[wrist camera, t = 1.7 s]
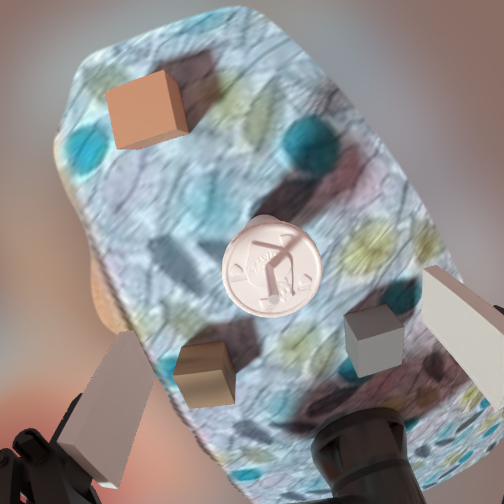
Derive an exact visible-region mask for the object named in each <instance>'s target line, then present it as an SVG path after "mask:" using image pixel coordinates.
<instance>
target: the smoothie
mask: <svg viewBox="0 0 504 504" xmlns="http://www.w3.org/2000/svg"><path fill="white" fill-rule="evenodd" d="M222 278H223V283H224V287H225V289H226V291H227V293H228V295H229V297H230V298H231V299H232V301H233V302H234V303H235V304H236V305H237V306H239V307H240V308H241V309H243V310H244V311H246V312H248V313H250V314H253V315H256V316H260V317H268V318H274V317H281V316H286V315H289V314H291V313H294V312H296V311H297V310H299V309H301V308H302V307H303V306H305V305H306V304H307V303H308V302H309V301H310V300H311V299H312V297H313V296H314V295H315V293H316V292H317V290H318V288H319V285H320V282H321V278H322V260H321V256H320V254H319V251H318V249H317V247H316V245H315V243H314V241H313V240H312V239H311V238H310V236H309V235H308V234H307V233H306V232H305V231H303V230H302V229H300V228H299V227H298V226H296V225H293V224H290V223H288V222H285V221H280V220H278V219H277V218H275V217H273V216H271V215H265V214H264V215H258V216H256V217H254V218H252V219H251V220H250V221H249V222H248V224H247V225H246V227H245V228H244V229H243V230H242V231H241V232H239V233H238V234H237V235H236V236H235V237H234V238H233V239H232V241H231V242H230V244H229V245H228V247H227V249H226V252H225V254H224V257H223V265H222Z"/></svg>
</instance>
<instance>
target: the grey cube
mask: <svg viewBox="0 0 504 504" xmlns="http://www.w3.org/2000/svg"><path fill="white" fill-rule="evenodd" d="M344 326H345V340H346V351H347V354H348V356H349V358H350V360H351V362H352V364H353V367H354V369H355V371H356V373H357V375H358V378H360V377H364V376H367V375H370V374H374V373H377V372H380V371H383V370H386V369H389V368H392V367H395V366H398V365H401V364H402V356H403V344H404V328H405V327H404V325H403V324H402V323H401V322H400V321H399V319H398V318H397V317H396V316H395V315H394V313H393V312H392V311H391V310H390V309H389V307H388V306H387V305H386V304H383V305H380V306H376V307H373V308H369V309H366V310H362V311H358V312H354V313H350V314H347V315H344Z"/></svg>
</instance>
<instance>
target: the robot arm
mask: <svg viewBox="0 0 504 504" xmlns="http://www.w3.org/2000/svg"><path fill="white" fill-rule="evenodd" d="M421 321H422V322H423V323H424V324H425V326H426V327H427V328H428V329H429V330H430V331H431V332H432V333H433V335H434V336H435V337H436V338H437V339H438V340H439V341H440V343H441V344H442V345H443V346H444V347H445V348H446V349H447V351H448V352H449V353H450V354H451V355H452V356H453V358H454V359H455V360H456V361H457V362H458V364H459V365H460V366H461V367H462V368H463V370H464V371H465V372H466V373H467V375H468V376H469V377H470V378H471V379H472V381H473V382H474V383H475V384H476V386H477V387H478V388H479V390H480V391H481V392H482V393H483V395H484V396H485V397H486V399H487V400H488V401H489V402H490V404H491V405H492V406H493V408H494V409H495V410H496V412H497V411H498V410H500V409H501V408H503V407H504V308H501V307H499V306H497V305H494V306H491V305H490V304H489V303H488V302H486V301H485V300H483V299H482V298H481V297H480V296H478V295H477V294H476V293H475V292H473V291H472V290H471V289H469V288H468V287H466V286H465V285H464V284H462V283H461V282H460V281H458V280H457V279H456V278H454V277H453V276H451V275H450V274H449V273H447V272H446V271H444V270H443V269H441V268H440V267H439V266H437V265H434V266H431V267H427V268H424V269H423V290H422V310H421ZM155 377H156V375H155V373H154V372H153V370H152V368H151V366H150V364H149V362H148V360H147V358H146V356H145V354H144V351H143V349H142V347H141V345H140V343H139V341H138V339H137V337H136V334H135V332H134V330H133V331H125V332H120V333H119V334H118V336H117V338H116V339H115V341H114V342H113V344H112V345H111V347H110V349H109V351H108V352H107V354H106V355H105V357H104V359H103V360H102V362H101V363H100V365H99V367H98V368H97V370H96V372H95V374H94V375H93V377H92V379H91V380H90V382H89V384H88V385H87V387H86V389H85V391H84V392H83V393H80V394H79V395H78V396H77V397H76V398H75V399H74V400H73V401H72V402H71V404H70V406H69V408H68V410H67V412H66V413H65V415H64V416H63V419H62V420H61V422H60V424H59V426H58V427H57V429H56V431H55V433H54V435H53V436H52V438H51V440H50V442H49V443H48V442H47V441H46V440H45V439H44V437H43V436H42V435H41V434H40V433H39V432H38V431H37V430H36V429H33V428H29V429H25V430H23V431H22V432H20V433H19V434H18V435H17V436H16V437H15V439H14V441H13V446H12V447H13V449H14V450H15V451H16V452H17V453H18V454H19V455H20V456H21V457H18V456H17V455H16V454H15V453H14V452H13V451H12V450H10V449H8V448H4V449H1V450H0V504H25V503H23V502H22V501H21V500H20V494H21V495H22V496H24V497H25V498H26V504H102V503H101V501H100V499H99V497H98V495H97V493H96V490H95V489H94V488H93V486H92V485H91V482H92V479H94V480H95V481H96V482H97V483H98V484H99V485H101V486H102V487H108V488H114V489H119V486H120V483H121V480H122V476H123V473H124V470H125V466H126V463H127V460H128V457H129V454H130V451H131V447H132V444H133V441H134V438H135V435H136V432H137V429H138V426H139V423H140V420H141V417H142V414H143V411H144V408H145V406H146V403H147V399H148V397H149V394H150V391H151V388H152V386H153V383H154V380H155ZM311 453H312V458H313V462H314V464H315V466H316V467H317V469H318V470H319V472H320V473H321V475H322V476H323V478H324V479H325V480H326V482H327V483H328V485H329V486H330V488H331V491H332V495H333V498H327V499H321V500H314V501H307V502H299V503H289V504H426V501H425V498H424V496H423V494H422V491H421V489H420V487H419V484H418V482H417V480H416V477H415V475H414V473H413V470H412V468H411V466H410V464H409V461H408V458H407V437H406V427H405V424H404V422H403V420H402V418H401V416H400V415H399V413H397V412H396V411H394V410H391V409H386V408H376V409H369V410H364V411H360V412H357V413H354V414H351V415H348V416H346V417H344V418H342V419H340V420H338V421H336V422H334V423H332V424H331V425H329V426H328V427H326V428H325V429H324V430H323V431H321V432H320V433H319V434H318V435H317V437H316V438H315V439H314V441H313V443H312V445H311ZM502 504H504V497H503V500H502Z"/></svg>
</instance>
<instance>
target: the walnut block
mask: <svg viewBox="0 0 504 504" xmlns="http://www.w3.org/2000/svg"><path fill="white" fill-rule="evenodd" d="M173 377H174V379H175V381H176V383H177V385H178V387H179V389H180V391H181V393H182V395H183V397H184V399H185V401H186V403H187V405H188V407H189V409H191V408H203V407H213V406H222V405H230V404H235V385H236V373H235V370H234V367H233V364H232V361H231V358H230V355H229V352H228V349H227V346H226V343H225V341H218V342H212V343H206V344H199V345H193V346H186V347H181V350H180V353H179V356H178V360H177V363H176V366H175V370H174V373H173Z"/></svg>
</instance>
